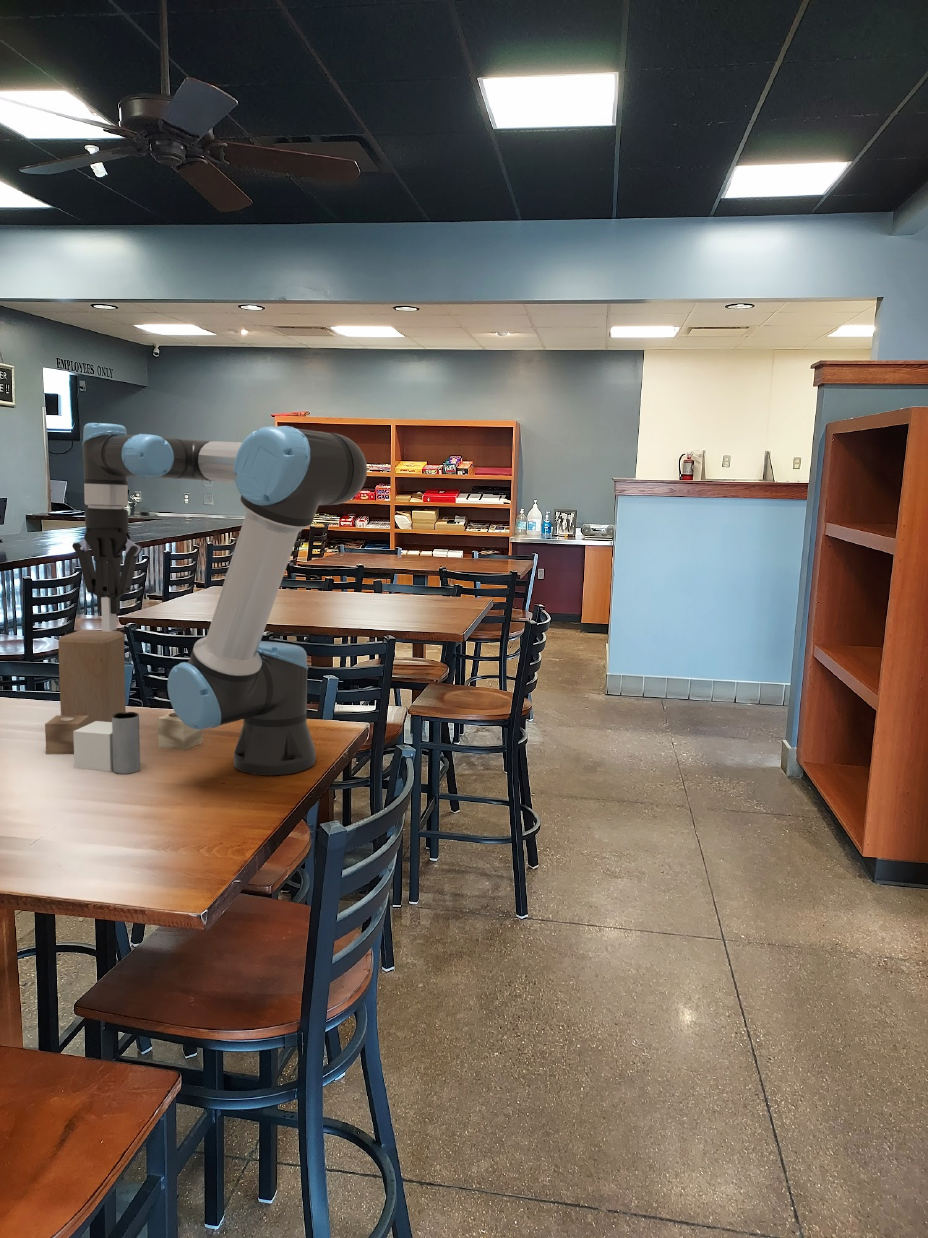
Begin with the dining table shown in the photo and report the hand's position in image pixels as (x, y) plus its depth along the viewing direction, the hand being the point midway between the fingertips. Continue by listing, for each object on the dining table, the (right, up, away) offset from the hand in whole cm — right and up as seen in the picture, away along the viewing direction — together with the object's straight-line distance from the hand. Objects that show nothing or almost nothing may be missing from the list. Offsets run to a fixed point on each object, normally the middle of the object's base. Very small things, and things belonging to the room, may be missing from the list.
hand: (109, 630), depth 157 cm
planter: (+7, -25, -10) cm, 28 cm away
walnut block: (-8, -23, 0) cm, 25 cm away
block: (-10, -21, +16) cm, 28 cm away
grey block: (+2, -25, -7) cm, 26 cm away
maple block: (+12, -23, +6) cm, 27 cm away
